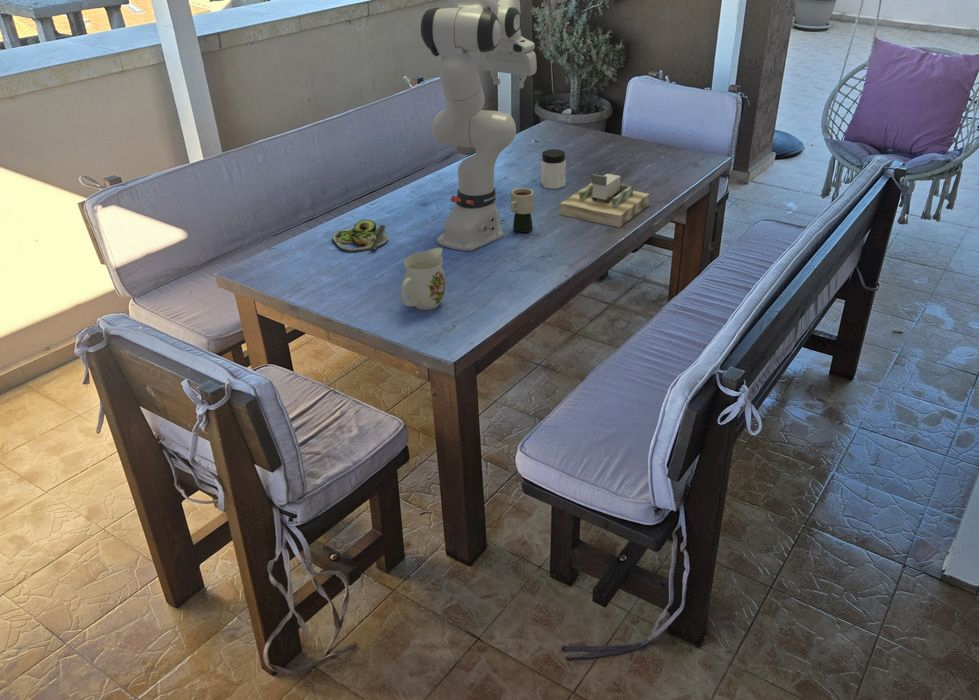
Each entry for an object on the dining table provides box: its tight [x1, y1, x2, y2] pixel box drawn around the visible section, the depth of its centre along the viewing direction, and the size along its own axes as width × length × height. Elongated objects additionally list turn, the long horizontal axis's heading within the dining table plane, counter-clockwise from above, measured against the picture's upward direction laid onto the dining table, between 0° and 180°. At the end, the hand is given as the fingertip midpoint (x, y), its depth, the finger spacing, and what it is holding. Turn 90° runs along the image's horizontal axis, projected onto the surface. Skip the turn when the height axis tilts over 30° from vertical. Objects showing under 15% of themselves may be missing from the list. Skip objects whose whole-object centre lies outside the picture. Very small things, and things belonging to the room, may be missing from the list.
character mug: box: [510, 187, 535, 233], centre depth 269 cm, size 11×7×13 cm, turn 139°
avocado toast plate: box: [332, 218, 389, 253], centre depth 268 cm, size 19×18×5 cm
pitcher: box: [400, 247, 446, 311], centre depth 227 cm, size 11×18×14 cm, turn 147°
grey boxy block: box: [591, 173, 621, 203], centre depth 280 cm, size 11×6×10 cm, turn 146°
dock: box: [559, 182, 650, 228], centre depth 283 cm, size 22×22×7 cm
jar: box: [540, 148, 567, 190], centre depth 303 cm, size 9×8×12 cm
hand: (508, 86), depth 283 cm, fingers open, 8 cm apart
